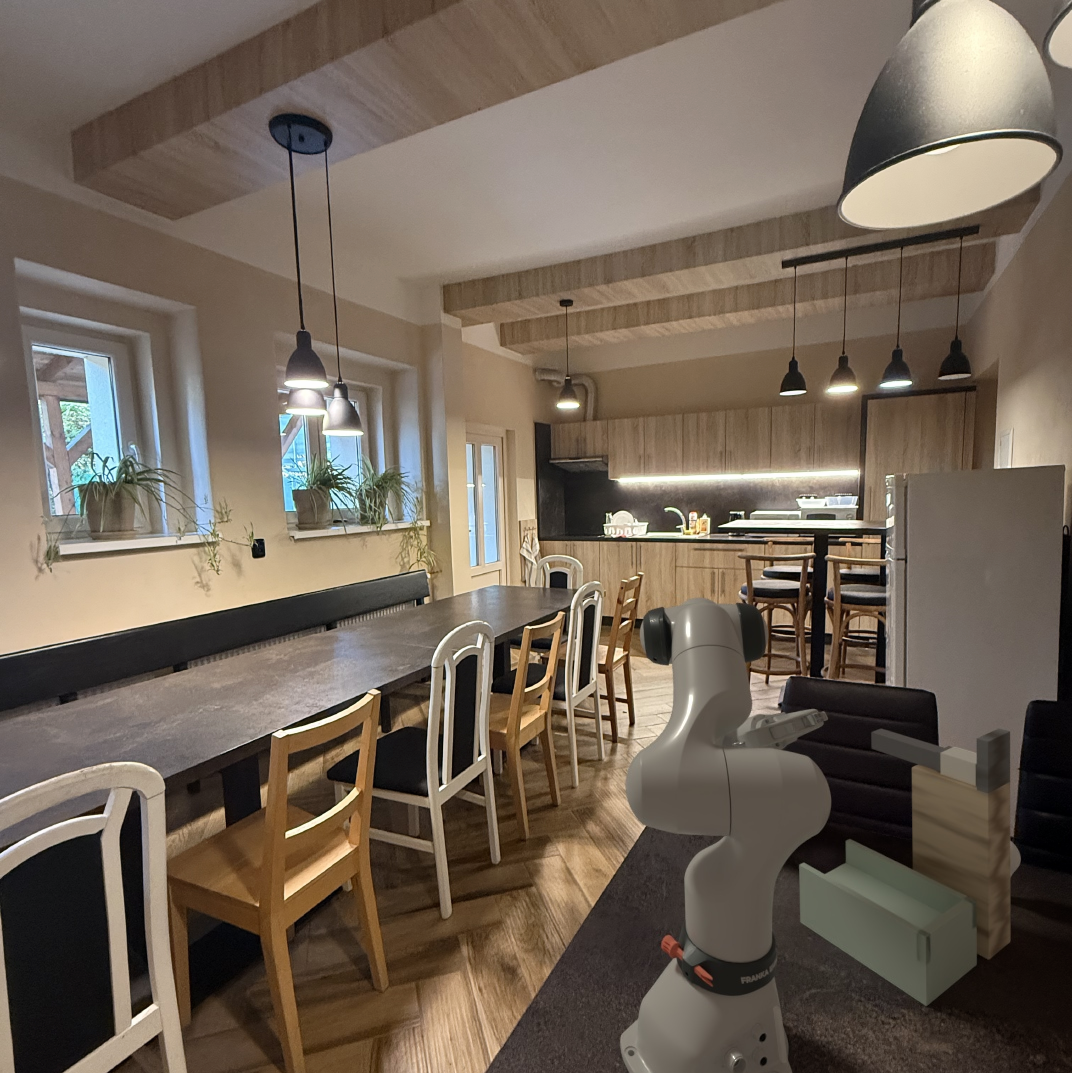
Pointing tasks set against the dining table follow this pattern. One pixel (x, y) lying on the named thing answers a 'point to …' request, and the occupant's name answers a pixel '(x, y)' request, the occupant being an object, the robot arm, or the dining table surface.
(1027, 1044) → the dining table surface
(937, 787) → the stand
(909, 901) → the bin
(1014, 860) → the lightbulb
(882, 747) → the grey square bar
